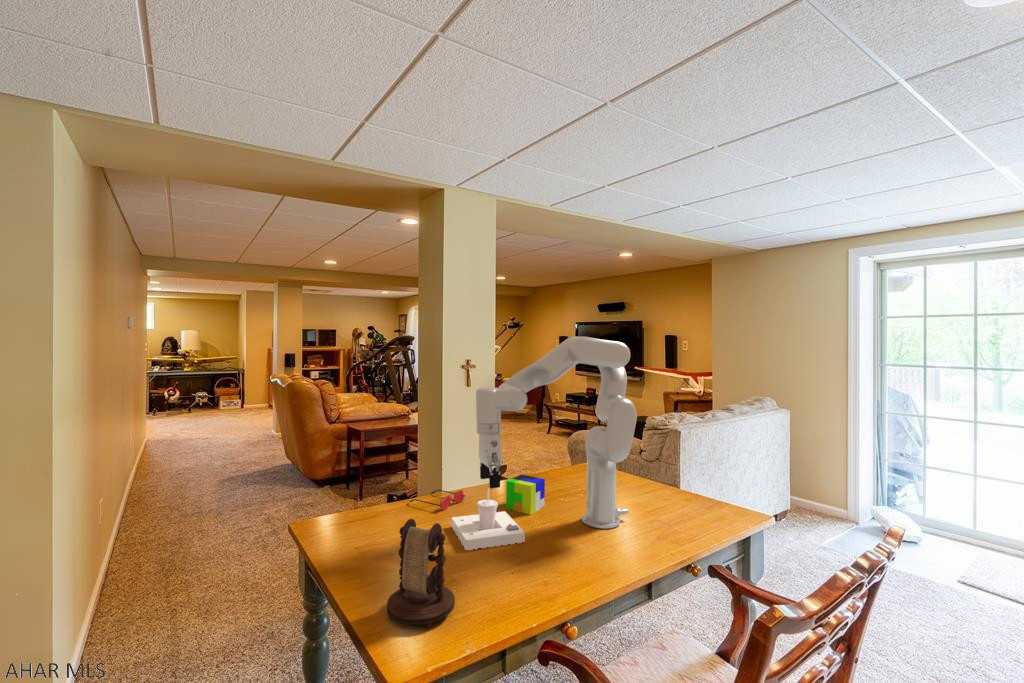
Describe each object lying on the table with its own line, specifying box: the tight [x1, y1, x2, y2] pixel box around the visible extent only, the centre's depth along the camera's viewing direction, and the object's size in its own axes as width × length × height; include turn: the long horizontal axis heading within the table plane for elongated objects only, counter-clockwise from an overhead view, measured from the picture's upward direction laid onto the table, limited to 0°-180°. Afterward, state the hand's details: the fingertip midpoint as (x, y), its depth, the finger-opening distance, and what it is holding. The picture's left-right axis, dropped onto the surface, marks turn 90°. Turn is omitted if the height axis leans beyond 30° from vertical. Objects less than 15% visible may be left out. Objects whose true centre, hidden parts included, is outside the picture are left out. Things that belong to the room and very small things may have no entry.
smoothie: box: [476, 487, 499, 531], centre depth 148 cm, size 6×6×14 cm
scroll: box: [386, 518, 456, 629], centre depth 106 cm, size 15×15×20 cm
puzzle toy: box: [505, 474, 546, 515], centre depth 172 cm, size 10×10×10 cm
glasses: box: [409, 489, 466, 511], centre depth 176 cm, size 14×16×5 cm
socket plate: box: [451, 510, 526, 551], centre depth 148 cm, size 18×18×4 cm
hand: (490, 482), depth 148 cm, fingers open, 9 cm apart
